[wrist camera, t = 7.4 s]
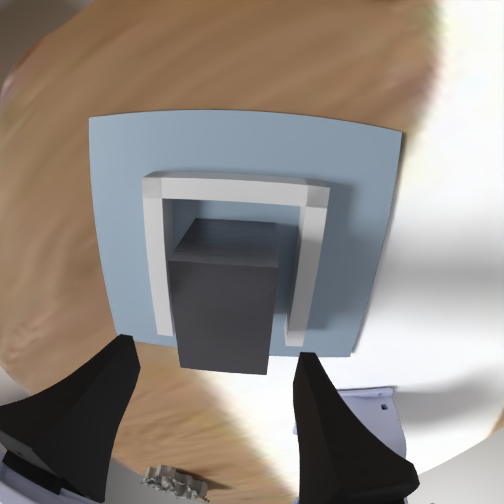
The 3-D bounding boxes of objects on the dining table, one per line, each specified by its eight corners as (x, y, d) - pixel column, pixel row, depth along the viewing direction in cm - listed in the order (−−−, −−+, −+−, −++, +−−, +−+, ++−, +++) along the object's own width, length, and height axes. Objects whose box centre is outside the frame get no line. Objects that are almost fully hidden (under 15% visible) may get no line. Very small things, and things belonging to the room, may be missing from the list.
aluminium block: (274, 222, 19) (278, 267, 13) (266, 313, 22) (266, 374, 16) (195, 218, 19) (167, 260, 13) (198, 309, 22) (180, 367, 16)
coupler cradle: (398, 131, 16) (416, 134, 14) (348, 353, 24) (354, 373, 21) (92, 117, 16) (72, 119, 14) (120, 334, 24) (109, 352, 22)
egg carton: (215, 484, 39) (212, 503, 35) (186, 487, 41) (183, 505, 38) (167, 462, 36) (162, 483, 32) (140, 465, 38) (135, 484, 34)
